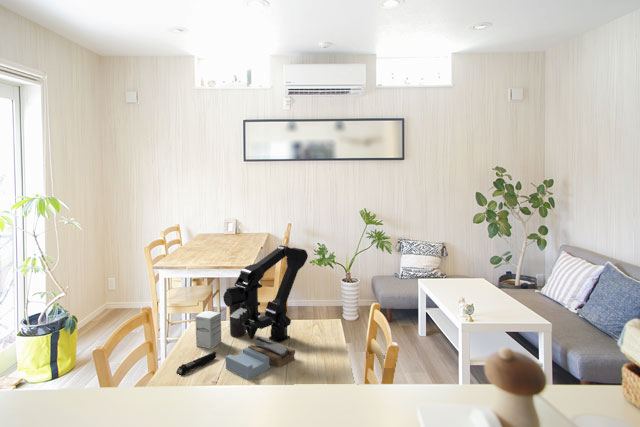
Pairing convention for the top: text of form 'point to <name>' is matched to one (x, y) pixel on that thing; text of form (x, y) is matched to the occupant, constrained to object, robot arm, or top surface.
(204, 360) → the electric trimmer
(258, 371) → the cradle
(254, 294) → the robot arm
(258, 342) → the axle
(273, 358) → the beam
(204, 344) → the supplement box
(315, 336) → the top surface
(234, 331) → the bottle
